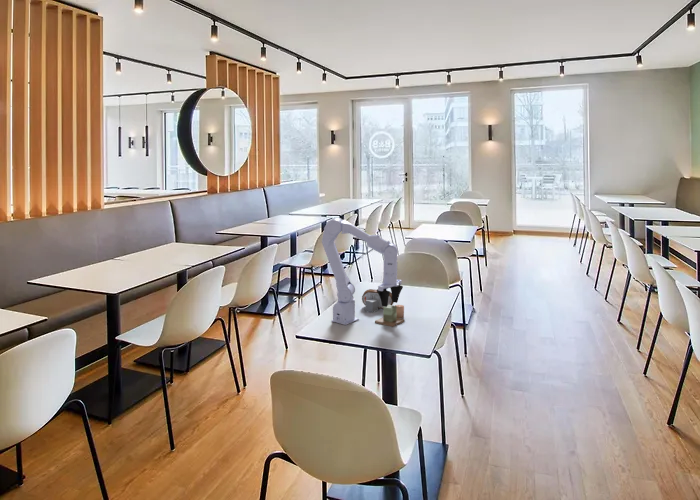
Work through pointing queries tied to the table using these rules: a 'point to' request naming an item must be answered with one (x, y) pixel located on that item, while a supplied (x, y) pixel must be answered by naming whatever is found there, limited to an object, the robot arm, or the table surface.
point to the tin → (375, 297)
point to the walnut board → (390, 322)
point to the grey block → (371, 305)
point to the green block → (390, 313)
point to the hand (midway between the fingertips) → (389, 304)
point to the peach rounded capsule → (400, 311)
